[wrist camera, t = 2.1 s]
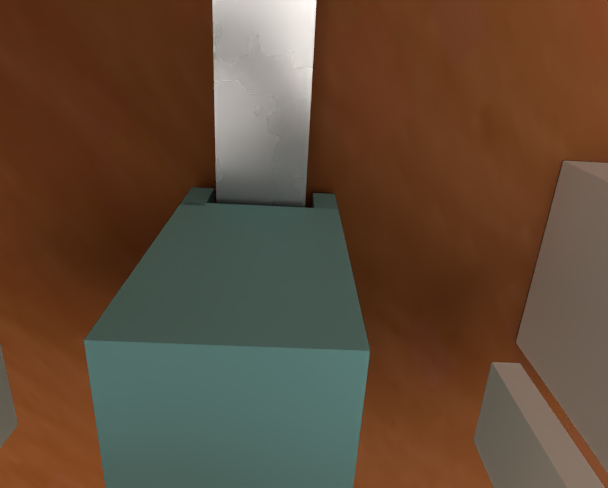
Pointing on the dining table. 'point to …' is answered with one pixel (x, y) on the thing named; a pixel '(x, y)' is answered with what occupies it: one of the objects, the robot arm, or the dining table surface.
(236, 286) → the block
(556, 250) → the cabinet
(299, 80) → the rail
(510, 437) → the robot arm
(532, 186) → the dining table surface
